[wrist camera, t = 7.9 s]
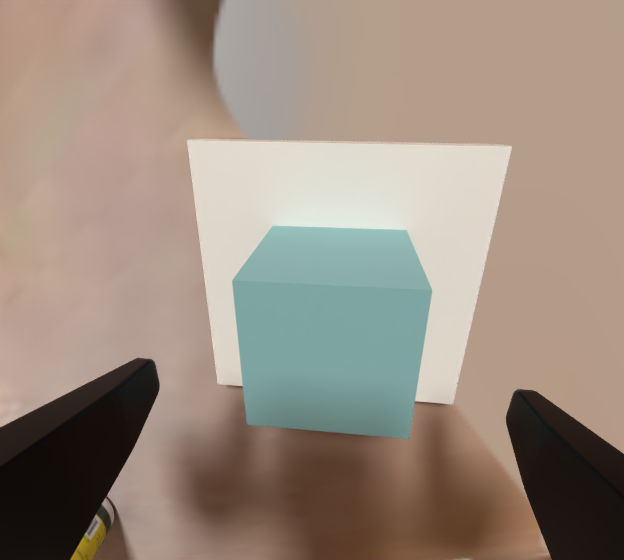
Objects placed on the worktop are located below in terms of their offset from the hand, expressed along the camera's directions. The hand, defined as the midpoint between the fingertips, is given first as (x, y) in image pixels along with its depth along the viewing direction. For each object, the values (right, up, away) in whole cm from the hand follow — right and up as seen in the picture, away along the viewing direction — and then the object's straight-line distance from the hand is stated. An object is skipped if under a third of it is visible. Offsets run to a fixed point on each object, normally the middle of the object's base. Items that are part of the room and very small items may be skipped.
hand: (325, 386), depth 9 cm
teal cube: (+1, +2, +5) cm, 6 cm away
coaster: (+1, +3, +6) cm, 7 cm away
